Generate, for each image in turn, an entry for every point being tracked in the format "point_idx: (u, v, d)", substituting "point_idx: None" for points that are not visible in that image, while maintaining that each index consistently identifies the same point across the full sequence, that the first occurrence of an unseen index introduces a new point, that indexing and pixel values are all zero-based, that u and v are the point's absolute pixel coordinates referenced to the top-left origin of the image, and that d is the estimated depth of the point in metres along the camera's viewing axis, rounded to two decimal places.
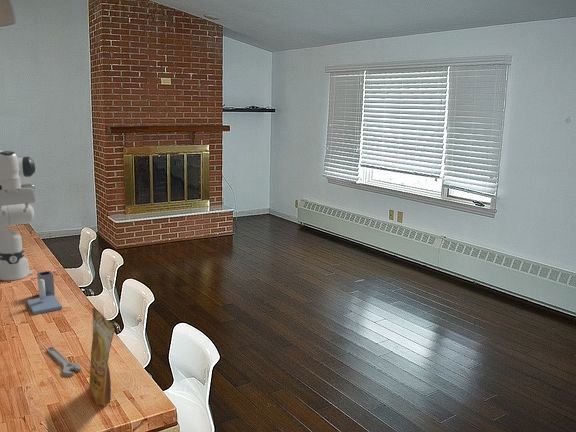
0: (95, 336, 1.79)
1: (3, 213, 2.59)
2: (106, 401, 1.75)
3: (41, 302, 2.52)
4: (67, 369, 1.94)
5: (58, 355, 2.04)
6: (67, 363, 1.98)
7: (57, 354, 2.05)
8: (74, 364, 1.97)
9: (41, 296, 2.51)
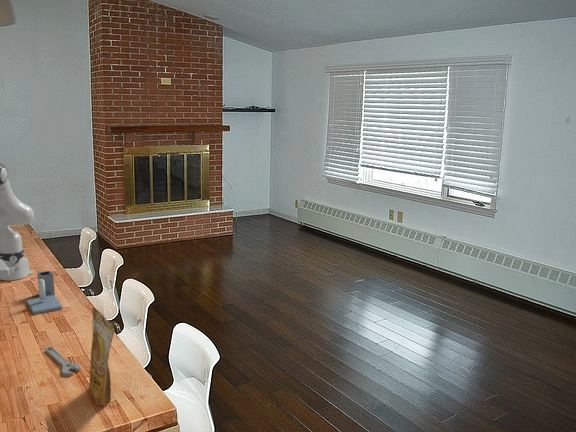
0: (95, 336, 1.79)
1: None
2: (106, 401, 1.75)
3: (41, 302, 2.52)
4: (66, 369, 1.94)
5: (57, 355, 2.04)
6: (66, 363, 1.98)
7: (56, 354, 2.05)
8: (73, 364, 1.98)
9: (41, 296, 2.51)
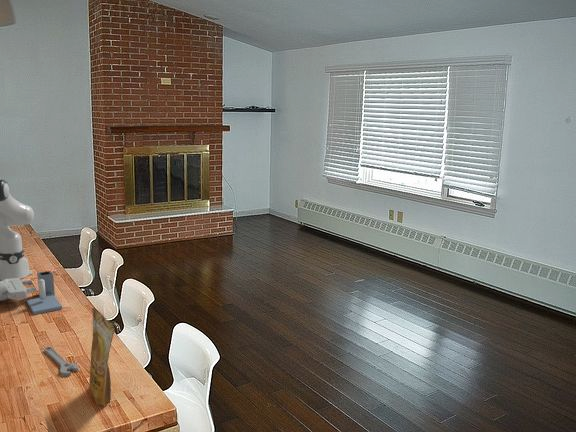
0: (95, 336, 1.79)
1: None
2: (106, 401, 1.75)
3: (41, 302, 2.52)
4: (64, 369, 1.94)
5: (55, 355, 2.04)
6: (64, 363, 1.98)
7: (54, 354, 2.05)
8: (71, 364, 1.98)
9: (41, 296, 2.51)
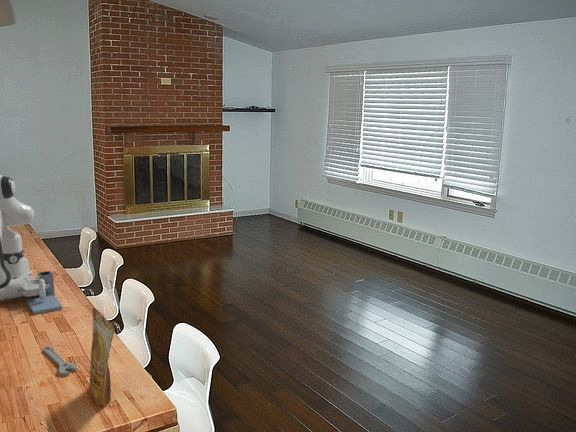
0: (95, 336, 1.79)
1: None
2: (106, 401, 1.75)
3: (41, 302, 2.52)
4: (63, 369, 1.94)
5: (54, 355, 2.05)
6: (63, 363, 1.99)
7: (53, 354, 2.05)
8: (70, 364, 1.98)
9: (41, 296, 2.51)
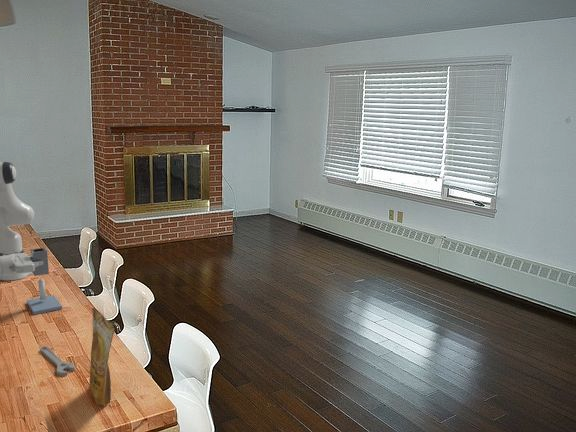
0: (95, 336, 1.79)
1: None
2: (106, 401, 1.75)
3: (41, 302, 2.52)
4: (61, 368, 1.94)
5: (52, 355, 2.05)
6: (61, 362, 1.99)
7: (51, 354, 2.05)
8: (68, 363, 1.98)
9: (41, 296, 2.51)
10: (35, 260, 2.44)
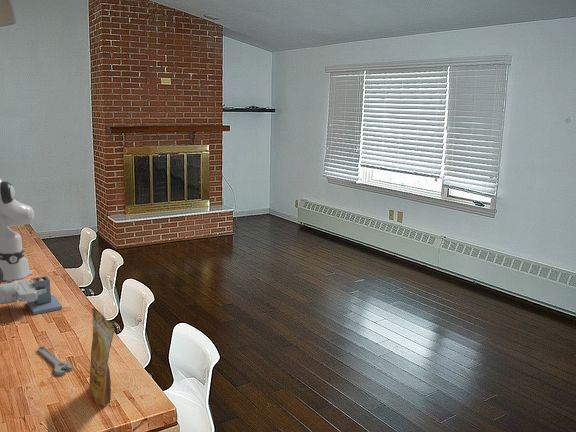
0: (95, 336, 1.79)
1: None
2: (106, 401, 1.75)
3: None
4: (59, 368, 1.94)
5: (49, 355, 2.05)
6: (58, 362, 1.99)
7: (48, 354, 2.05)
8: (65, 363, 1.98)
9: None
10: (38, 289, 2.48)
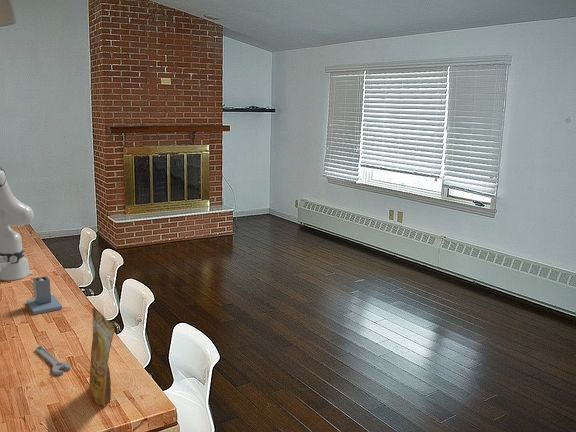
0: (95, 336, 1.79)
1: None
2: (106, 401, 1.75)
3: None
4: (56, 368, 1.94)
5: (47, 354, 2.05)
6: (56, 362, 1.99)
7: (46, 353, 2.05)
8: (63, 363, 1.98)
9: None
10: (38, 289, 2.48)
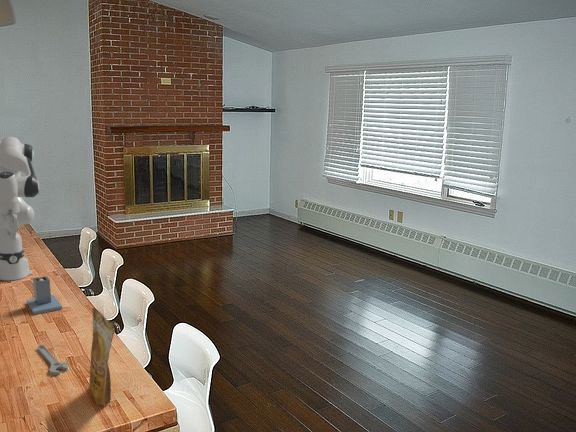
0: (95, 336, 1.79)
1: (7, 233, 2.53)
2: (106, 401, 1.75)
3: None
4: (54, 368, 1.94)
5: (47, 354, 2.05)
6: (55, 362, 1.99)
7: (47, 353, 2.06)
8: (61, 363, 1.98)
9: None
10: (38, 289, 2.48)
